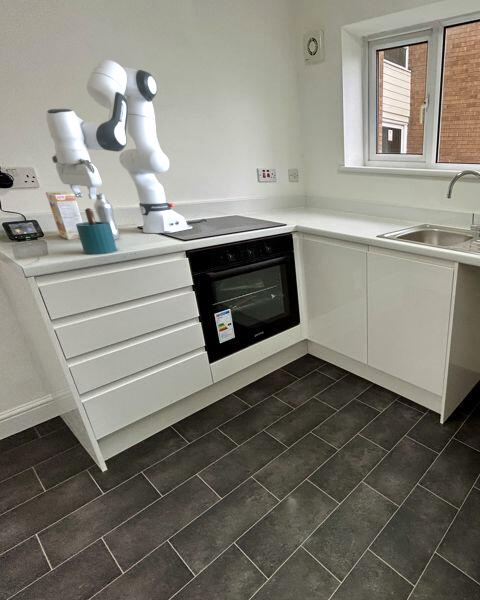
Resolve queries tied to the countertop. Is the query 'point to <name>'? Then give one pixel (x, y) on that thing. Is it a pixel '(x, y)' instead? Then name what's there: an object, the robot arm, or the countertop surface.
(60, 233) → the coffeecake box
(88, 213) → the brush
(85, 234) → the teal pot
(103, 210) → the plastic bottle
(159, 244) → the countertop surface
